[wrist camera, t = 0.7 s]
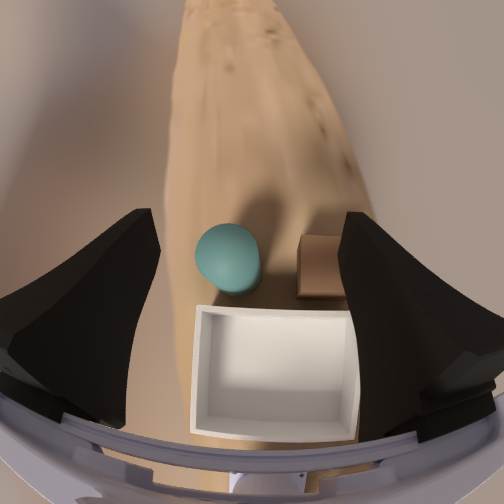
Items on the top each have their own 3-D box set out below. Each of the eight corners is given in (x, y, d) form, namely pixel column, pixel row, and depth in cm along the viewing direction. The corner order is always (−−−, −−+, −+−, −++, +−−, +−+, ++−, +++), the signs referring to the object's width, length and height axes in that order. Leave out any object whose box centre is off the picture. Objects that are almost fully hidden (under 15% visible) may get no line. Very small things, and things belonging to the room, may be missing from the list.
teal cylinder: (260, 298, 27) (256, 286, 21) (211, 295, 28) (191, 282, 21) (263, 249, 29) (259, 224, 22) (215, 248, 29) (198, 223, 22)
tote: (341, 423, 23) (354, 439, 18) (204, 417, 24) (190, 432, 19) (349, 314, 26) (364, 310, 21) (210, 309, 27) (196, 304, 23)
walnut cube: (344, 300, 27) (358, 293, 22) (295, 299, 27) (300, 292, 22) (343, 252, 28) (356, 236, 23) (296, 251, 28) (301, 234, 24)
